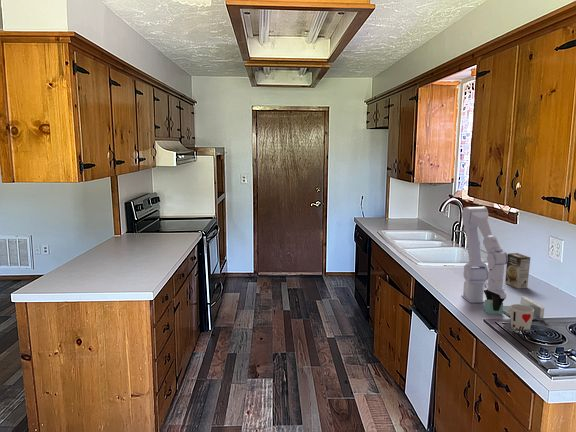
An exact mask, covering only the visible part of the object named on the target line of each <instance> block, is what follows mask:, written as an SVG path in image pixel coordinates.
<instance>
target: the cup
mask: <svg viewBox="0 0 576 432" xmlns="http://www.w3.org/2000/svg"><path fill="white" fill-rule="evenodd" d="M509 306H510V317H509V318H510V326H511V329H513V330H515V331H519V332H520V331H528V330H529V331H530V329H531V326H532V323H533V321H532V320H533V314H534V309H533V308H532V307H529V306H526V305H521V304H520V303H518V304H516V303H514V304H511V305H509ZM513 330H512V331H513ZM529 331H528V332H529Z"/></svg>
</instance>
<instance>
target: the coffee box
mask: <svg viewBox="0 0 576 432" xmlns="http://www.w3.org/2000/svg"><path fill="white" fill-rule="evenodd" d="M507 256H508V262H507V263H506V268H505V280H504V281H505V282H504V283H505V284H507V285H509V286H511V287H513V288H515V289H526V288H528V283H529V275H530V268H531V267H530V266H531V265H530V264H531V257H530V256H527V255H524V254H521V253H518V252H513V253H512V252H510V253H507Z"/></svg>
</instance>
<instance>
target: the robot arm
mask: <svg viewBox="0 0 576 432" xmlns="http://www.w3.org/2000/svg"><path fill="white" fill-rule="evenodd" d="M461 218H462V224H463V226H464V229H465V237H466V245H467V246H466V247H467V254H468V260H469V261H468V262H467V263H466V264H464V265H463V278H464V280H465V281H464V283H463V293H462V294H461V297H462V298H464V299H465V300H466V301H468V302H469V303H470V304H471V303H485V300H493V310H494V311H499V309H500V307H501V304H502V302H503V303H504V301H505V300H506V299H507V293H506V292H505V290H506V288H505V287H503V285H504V284H503V283H504V272H505V265H507V262H508V256H507V255H508V253H507V252H506V251H505V250H504V249H503V248H502V247H501V245H500V243H499V241H498V239H497V237H496V236H495V235H493V232H492V230H491V227H490V224H489V221H488V219H489V211H488V209H487V207H486V206H484V205H483V206H466V207H465V206H464V208H463V210H462V211H461ZM478 229H479V232H480V233H481V234H482V236H483V240H482V243H483V246H484V248H485V250H486V253H487V255H486V261H487V264H486V263H485V262H483V261H482V258H481V257H482V256H481V249H480V248H481V247H480V240H479V232H478ZM484 294H485V298H486V299H485V298H484Z"/></svg>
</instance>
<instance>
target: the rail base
mask: <svg viewBox="0 0 576 432" xmlns="http://www.w3.org/2000/svg"><path fill="white" fill-rule="evenodd" d="M519 304H521V305H526V306H529V307H532V308H533V309H534V314H533V319H543V320H544V315H545V314H544V313H545V307H543V306H542V305H540V304H538V302H536V301H534V300H532V299H530V298H529V297H527V296H526V295H521V296H520V303H519ZM510 306H511V305H503V312H504V313H505V314H504V313H503V312H502V313H503V314H504V315H505V316H507V315H508V316H507V317H509V316H510Z"/></svg>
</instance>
